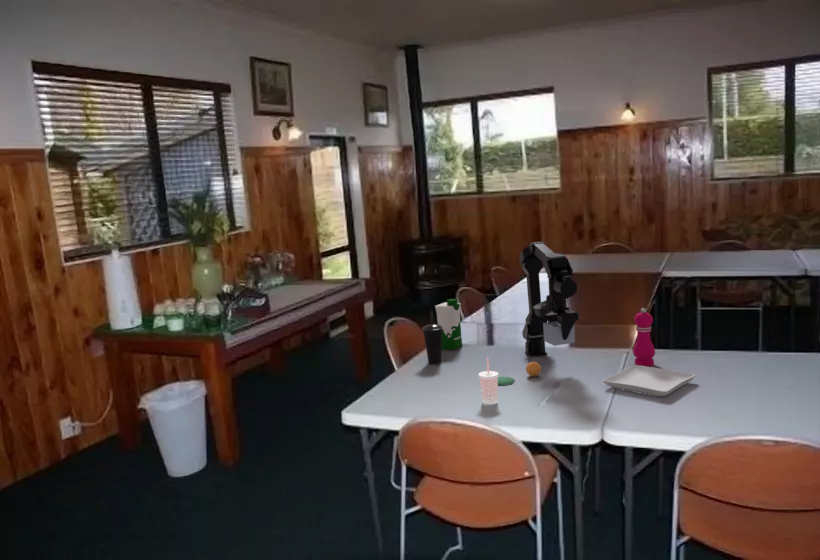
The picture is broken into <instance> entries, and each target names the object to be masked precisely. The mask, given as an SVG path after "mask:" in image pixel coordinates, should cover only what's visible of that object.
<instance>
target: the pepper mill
mask: <svg viewBox="0 0 820 560" xmlns="http://www.w3.org/2000/svg"><path fill="white" fill-rule="evenodd" d="M633 319H634V321H633V322H634V324H635V325H636V326H635V331H636V333H637V339H636V342H635V344H634V346H633V348H632V349H633V350H632V354H633V355H634V357H635V359H634V365H639V366H646V367H649V366H650V367H652V366H654V364H655V359H654V357H655V355H656V349H655V346H654V344H653V342H652V339H651V331H652V326H651V325H652V324H653V321H654V318H653V316H652V314H650V313H649V312H647V309H646V308H645V307H641V309H640V311H639V312H638V313H637V314H635V316H634V318H633Z"/></svg>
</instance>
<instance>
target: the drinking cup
mask: <svg viewBox="0 0 820 560" xmlns="http://www.w3.org/2000/svg"><path fill="white" fill-rule="evenodd" d="M430 321H431V323H430V324H427V325H425V326H423V327H422V331H423V337H424V344H425V349H426V356H427V360H428V364H429V365H439V363H440V364H442V352H443V351H442V350H443V349H442V329H443V327H442V326H440V325H438V323H437V324H436V323H434V316H433V310H430Z"/></svg>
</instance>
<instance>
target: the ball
mask: <svg viewBox="0 0 820 560" xmlns="http://www.w3.org/2000/svg"><path fill="white" fill-rule="evenodd" d="M525 370H526V373H527V375H528V376H530V377H537V376H539V375H540V374H541V372H542V366H541V364H540V363H539V362H538V361H537V362H536V361H530V362H529V363H528V364H527V365H526V366H525Z"/></svg>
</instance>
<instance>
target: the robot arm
mask: <svg viewBox="0 0 820 560" xmlns="http://www.w3.org/2000/svg"><path fill="white" fill-rule="evenodd" d="M518 260H519V263H520V267H521V269H522V271H523V272H524V274H525V275H526V289H527V301H528V313H527V316H526V318H525V324H524V327H523V329H522V331H521V333H522V334H521V335H522V338H523V339H524V340H526V341H525V343H524V344H525V345H524V346H525V351H524V353H525V354H527V355H528V356H530V357H537V356H544V355H548V352H547V351H546V342H545V341H544V329H543V323H548V322H555V321H557V322H558V323H559V324H560V325H561V330H562V336H563V340H567V338H568V335H569V333H570V331H571V329H572V327H573V325H574V326H575V323H576V322H577V321H580V314H579V313H578V312H577V311H574V310H570V307H569V306H568V302H567V301H568V300H567V299H569V298H572V297H573V296H575V295H576V294H577V291H578V285H577V283H576V282H575V281H574V280H572V277H573V276H574V275H573V271H574V270H573V267H572V266H571V263H570V261H569V258H567V256H566V255H565V254H563V253H557V252H556V253H555V252H554V251H553V250H552V249H550V248H549V247H548V246H547V245H546V244H545V242H544V241H535V242H530V243H529V244H528V246H526V247H525V248H523V249H522V250H521V252H519V257H518ZM542 268H544V270H545V274H546V275H547V276H546V278H548V294H547V295H546V297H545V298H546V299H545V300H544V301H543V300H542V295H541V284H540V272H541V270H542Z"/></svg>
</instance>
